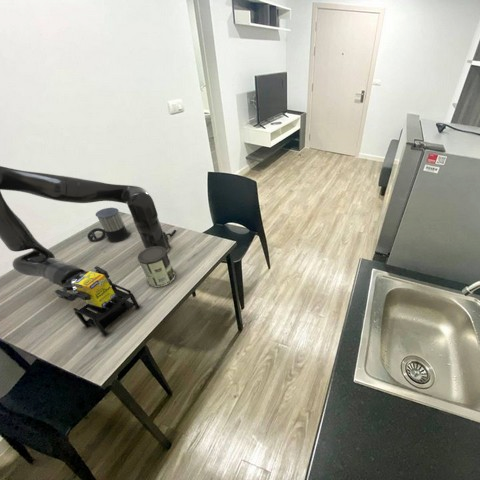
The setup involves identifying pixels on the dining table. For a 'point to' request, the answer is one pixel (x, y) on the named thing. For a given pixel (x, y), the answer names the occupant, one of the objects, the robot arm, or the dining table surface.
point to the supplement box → (95, 289)
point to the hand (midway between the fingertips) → (100, 290)
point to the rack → (107, 310)
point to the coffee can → (156, 266)
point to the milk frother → (110, 226)
